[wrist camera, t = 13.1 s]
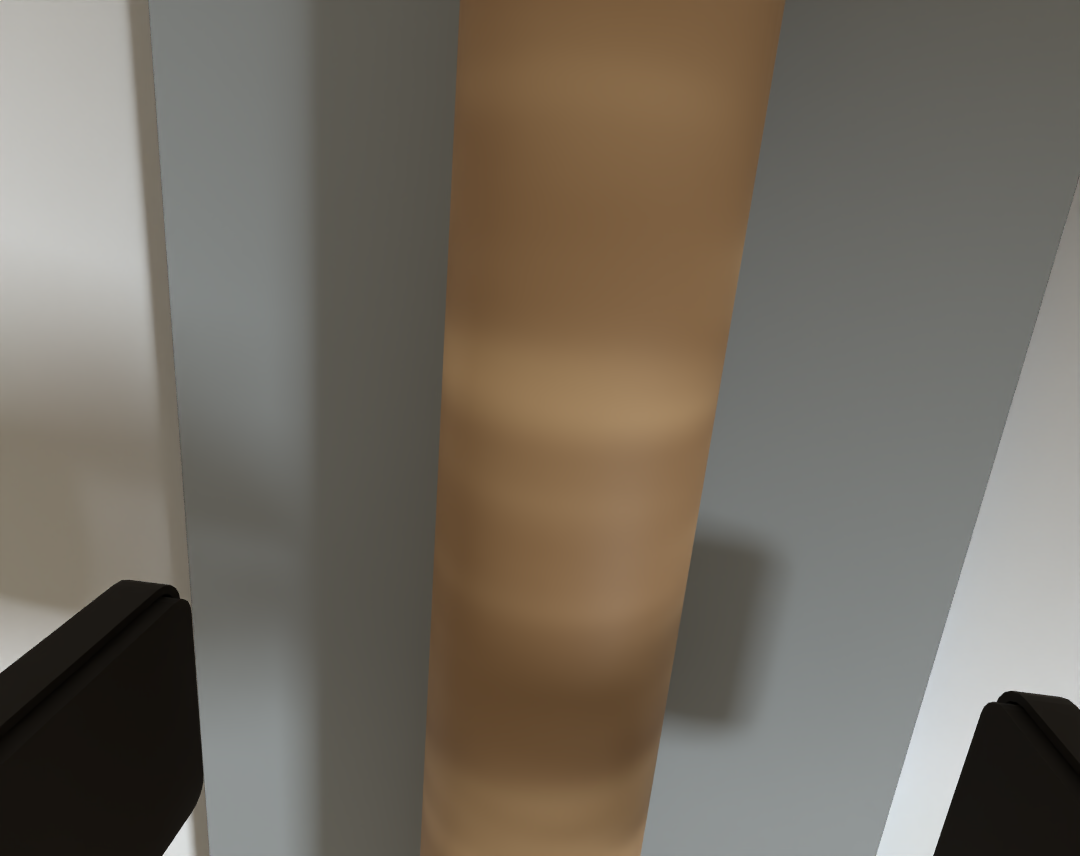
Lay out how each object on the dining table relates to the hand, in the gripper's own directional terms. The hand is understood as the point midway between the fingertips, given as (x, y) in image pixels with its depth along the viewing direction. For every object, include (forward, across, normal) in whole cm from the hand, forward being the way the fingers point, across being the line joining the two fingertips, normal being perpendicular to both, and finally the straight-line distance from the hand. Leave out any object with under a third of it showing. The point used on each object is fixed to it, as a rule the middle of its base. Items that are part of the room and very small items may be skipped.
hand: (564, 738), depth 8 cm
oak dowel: (+2, 0, 0) cm, 2 cm away
